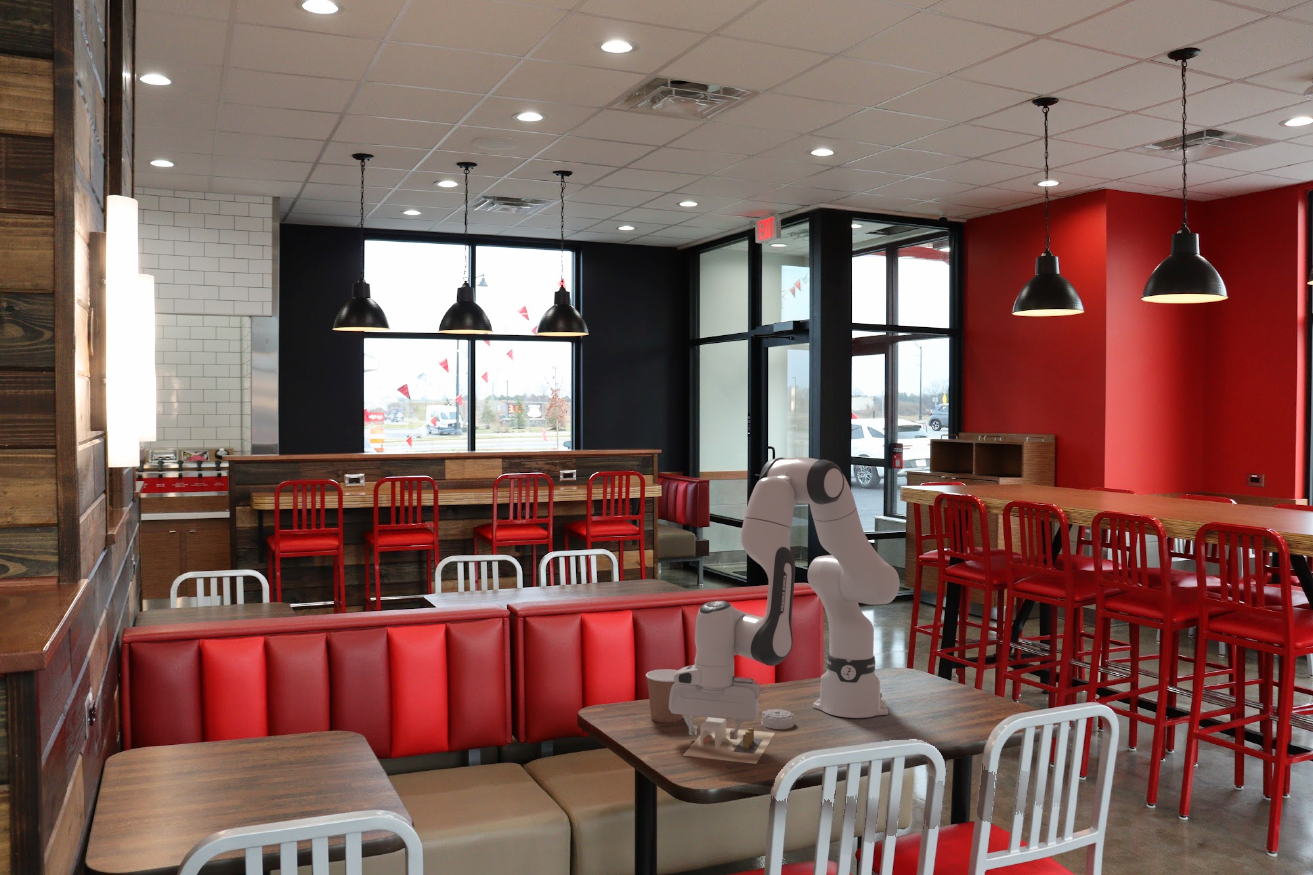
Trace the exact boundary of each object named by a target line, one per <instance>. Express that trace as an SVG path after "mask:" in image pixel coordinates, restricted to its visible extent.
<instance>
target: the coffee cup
mask: <svg viewBox="0 0 1313 875" xmlns="http://www.w3.org/2000/svg"><path fill="white" fill-rule="evenodd" d="M678 670H679V669H677V670H676V669H670V668H669V669H668V668H667V669H654V670H651V671H648V672H647V673H646V674H645V677H646V680H647V689H648V699H649V710H650V718H651V720H653V721H655V722H658V723H668V724H669V723H677V722H679V721H681V720H683V715H682V714H673V713H671V711H670V710H669V697H670V691H671V688H672V686H673V685H674V684H675V683H676V682H675V681H674V675H675V673H676V672H677V671H678Z"/></svg>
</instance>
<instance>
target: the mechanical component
mask: <svg viewBox="0 0 1313 875" xmlns="http://www.w3.org/2000/svg"><path fill="white" fill-rule="evenodd" d="M794 717H795V716H794V713H793V712H791V710H785V709H780V708H773V709H767V710H765V711H764V710H763V711H762V712H761V721H760V722H761V723H760V724H761V725H762V726H763V727H765V728H768V729H775V730H784V729H791V728H793V727H794V726H795V723H794V722H795V721H794Z"/></svg>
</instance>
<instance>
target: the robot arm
mask: <svg viewBox="0 0 1313 875" xmlns="http://www.w3.org/2000/svg"><path fill="white" fill-rule="evenodd" d="M797 504H798V505H802V504H809V507H810V512H811V515H812V519H813V522H814V526H815V531H816V534H817V539H818V541H819V543H820V545H821V547H822V548H823V549H824V550H825V551H826V552H828V553H829V554H826V555H821V556H820V555H819V556H817V557H815V558H814V559H813V560H811V562H810V564H809V567H808V570H807V581H808V582H807V583H808V585H809V587H810V588H811V590H813V592H814V593H815V594H816V595H817V596H818V598H819V600H820V601H821V604H822V606H823V609H824V611H825V614H826V617H827V623H828V637H829V638H828V639H829V642H828V643H829V644H828V646H829V648H828V653H827V658H826V665H827V666H826V668H827V670H826V672H824V673H823V674H822V675H821V676H820V691H819V693H820V694H819V698H818V699H817V700H816V701H814V702H813V703H812V704H813V705H812V707H813V708H814V709H817V710H820V711H822V712H824V713H826V714H828V715H832V716H836V717H840V718H841V717H842V718H849V719H864V718H865V719H866V718H872V717H876V716H884V715H889V709H888V706H887V705H886V702H885V700H884V697H883V694H882V692H881V680H879V677H878V676H877V675H876V674H875V671H876V657H875V655H874V642H875V641H874V638H875V634H874V633H875V631H874V630H875V629H874V625H873V623H872V621H871V620H870V619H869V618H868V617H867V616H865V614H864V613H863V611H862V609H861V608H860V605H859V604H860V603H861V604H865V605H870V606H871V605H887V604H890V603H891V602H893V600H895V598H896V597H897V595H898V593H899V591H900V577H899V574H898V572H897V570H896V569H895V568H894V567H893V566H892V565H890V564H889V563H888V562H887V561H885V560H884V559H883V558H882V557H881V556H880V554H878V552H877V551H876V550H875V547H874V546H872V544H871V543H870V541H869V539H868V537H867V536H866V534H865V531H864V529H863V525H862V522H861V520H860V516H859V515H860V514H859V512H858V508H857V504H856V501H855V498H854V495H853V491H852V490H851V487H850V485H849V482H848V481H847V479H846V477H845V475H844V473H843V472H842V470H841V468H840V466H839V465H838V464H836V463H835V462H833V461H830V460H828V459H822V458H821V459H816V458H811V457H804V456H802V457H801V456H800V457H786V458H785V457H776V458H772V459H770V460H768V461H767V462H766V463H765V464H764V465H763V467H762V469H761V471H760V474H759V480H758V481H757V482H756V484H755V486H754V488H753V490H752V492H751V495H750V497H749V500H748V504H747V505H746V506H747V507H746V510H745V515H744V518H743V522H742V527H741V533H740V534H741V536H740V539H741V545H742V548H743V550H744V551H745V552H746V554H747V555H748V556H749V557H750V558H751V559H752V560H753V561H754V562H756V563H757V564H759V565H760V566H761V567H762V569H763V570H764V572H765V573H766V575H767V579H768V587H767V589H768V590H767V597H766V598H767V600H766V609H765V610H766V611H765V615H764V617H763V616H759V615H755V614H753V613H747V612H744V611H742V610H739V609H737V608H736V607H734V606H733V605H732V603H730V602H728V601H725V600H715V601H713V600H712V601H708V602H706V603H704V604H702V605H701V606H700V607H699V609H698V612H697V615H696V620H695V628H694V630H695V631H694V643H695V644H694V645H695V646H696V648H695V649H696V652H695V657H694V664H692V665H687V666H684V667H682V668H680V669H677V670H678V671H677V672H676V673H675V675H674V681H675V682H676V683H675V684H674V685H673V686H672V688H671V691H670V697H669V710H670V711H671V713H673V714H682V716H683V717H684V718H683V720H684V721H685V723H686V724H685V725H687V727H688V735H689V736H690V735H691V736H696V735H697V734H698V730H697V729H698V725H695V724H694V722H693V720H692V718H693V717H703V718H708V717H711V718H721V719H726V720H733V721H734V725H736V727H735V728H734V729H735V730H734V729H732V730H731V731H730V735H731V736H730V739H735V740H737V738H738V730H739V729H741V727H742V725H743V723H744V722H752V723H753V722H755V721H756V720H757V719H758V717H759V715H760V704H759V697H760V695H761V686H760V684H759V683H758V681H756V680H754V678H751V677H745V678H744V677H741V676H740V677H738V676H735V658H734V657H735V656H740V657H744V658H746V659H751V660H754V661H755V662H758V663H760V664H763V665H765V666H768V667H774V666H778V665H779V664H780V663H782V662H784V660H785V659H786V658H787V657H788V656H789V654H790V653H791V651H792V649H793V642H794V641H793V639H794V638H793V629H792V625H793V624H792V623H793V622H792V619H793V607H794V606H793V605H794V593H795V592H794V591H795V578H796V561H795V560H796V559H795V556H794V554H793V551H791V545H790V543H791V542H790V537H791V536H790V535H791V529H792V524H793V520H794V519H793V518H794V510H795V506H796V505H797Z"/></svg>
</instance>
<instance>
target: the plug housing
mask: <svg viewBox="0 0 1313 875" xmlns="http://www.w3.org/2000/svg"><path fill="white" fill-rule="evenodd" d="M706 718H707V719H706V720H705V721H704V722H703V723H702V724H701V725H700V729H699V731H700V734H699V736H700V746H702V747H703V746H704V745H705V744H708V743H709V741H710V740H711V739H712V731H714V732H715V748H718V747H719V746H720V745H721V743H722V742H723V741H724V739H725V738H726V728H727V719H721V718H711V717H706Z"/></svg>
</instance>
